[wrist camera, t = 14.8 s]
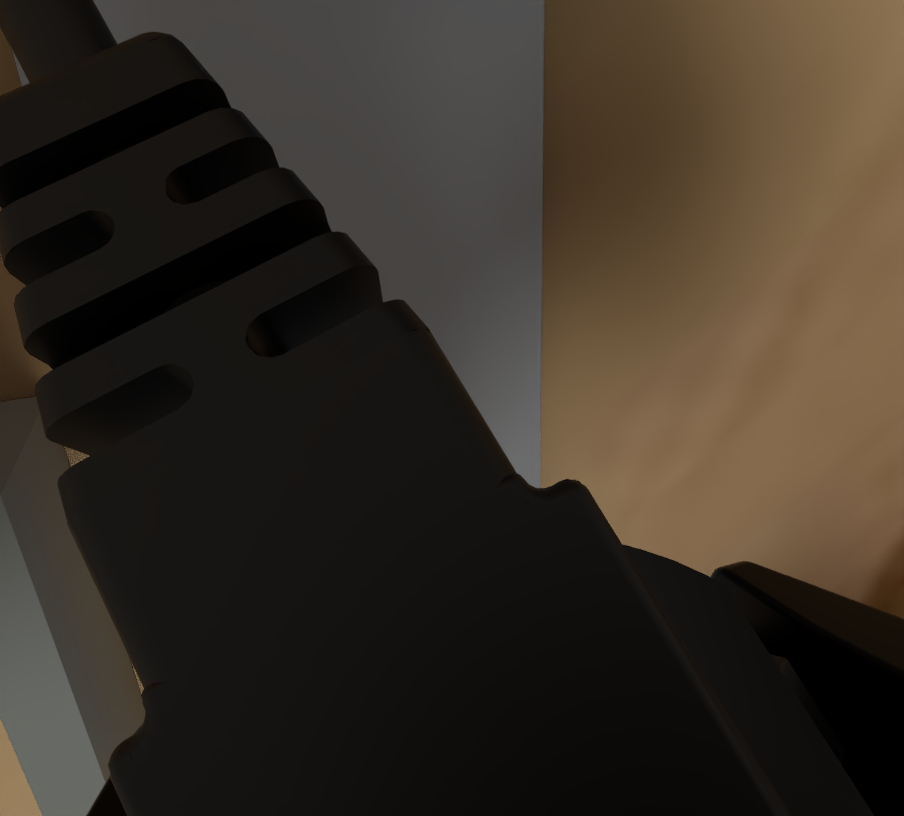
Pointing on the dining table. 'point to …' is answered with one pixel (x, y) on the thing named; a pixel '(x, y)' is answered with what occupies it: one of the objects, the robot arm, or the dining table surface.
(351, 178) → the mat
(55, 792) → the case
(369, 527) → the power plug
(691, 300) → the dining table surface
